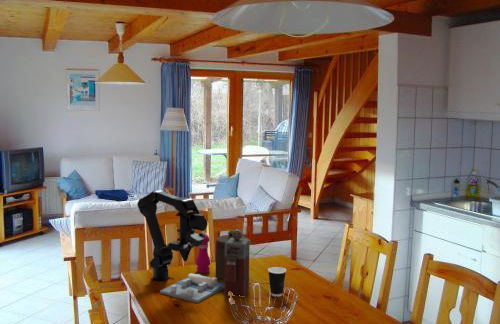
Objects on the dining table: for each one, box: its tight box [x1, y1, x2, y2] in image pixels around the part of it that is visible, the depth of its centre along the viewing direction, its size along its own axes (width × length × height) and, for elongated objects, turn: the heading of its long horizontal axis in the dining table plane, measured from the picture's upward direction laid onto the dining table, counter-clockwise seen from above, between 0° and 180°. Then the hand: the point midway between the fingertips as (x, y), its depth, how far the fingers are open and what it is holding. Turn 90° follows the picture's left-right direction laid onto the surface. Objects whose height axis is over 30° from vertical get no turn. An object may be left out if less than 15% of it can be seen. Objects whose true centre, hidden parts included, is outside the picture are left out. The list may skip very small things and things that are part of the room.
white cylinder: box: [187, 273, 214, 287], centre depth 224 cm, size 12×4×4 cm, turn 59°
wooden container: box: [215, 229, 248, 281], centre depth 239 cm, size 15×15×22 cm
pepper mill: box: [195, 230, 211, 274], centre depth 245 cm, size 7×7×20 cm
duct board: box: [159, 273, 225, 304], centre depth 220 cm, size 20×22×4 cm
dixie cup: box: [267, 266, 287, 298], centre depth 216 cm, size 8×8×11 cm
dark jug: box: [223, 228, 251, 297], centre depth 215 cm, size 9×11×28 cm
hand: (185, 261), depth 224 cm, fingers closed
